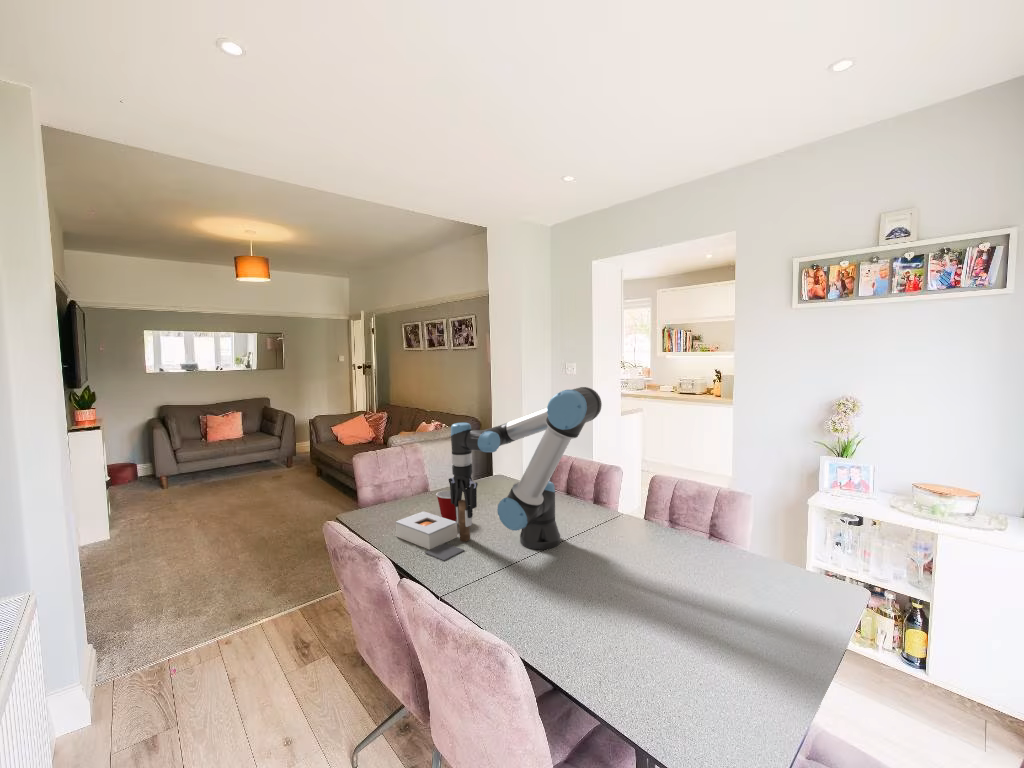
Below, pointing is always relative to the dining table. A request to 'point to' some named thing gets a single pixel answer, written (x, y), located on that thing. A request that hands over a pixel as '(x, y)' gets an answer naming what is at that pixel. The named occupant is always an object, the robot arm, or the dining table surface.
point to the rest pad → (444, 551)
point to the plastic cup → (446, 505)
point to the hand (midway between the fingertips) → (464, 524)
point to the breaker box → (426, 530)
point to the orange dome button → (425, 523)
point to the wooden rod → (463, 522)
